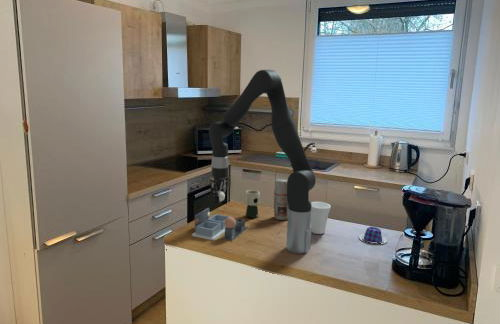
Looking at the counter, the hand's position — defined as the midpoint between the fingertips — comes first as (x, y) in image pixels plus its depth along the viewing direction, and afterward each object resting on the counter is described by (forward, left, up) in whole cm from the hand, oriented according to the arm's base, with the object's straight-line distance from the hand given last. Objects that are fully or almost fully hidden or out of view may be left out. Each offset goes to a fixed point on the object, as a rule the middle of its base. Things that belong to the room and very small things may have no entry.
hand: (219, 201), depth 181 cm
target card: (+6, +5, -12) cm, 15 cm away
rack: (0, +5, -12) cm, 13 cm away
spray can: (-22, -25, -12) cm, 36 cm away
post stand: (-10, +4, -12) cm, 16 cm away
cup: (-43, -15, -12) cm, 47 cm away
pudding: (-67, -18, -13) cm, 71 cm away
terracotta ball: (-10, +9, -5) cm, 15 cm away
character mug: (-8, -20, -12) cm, 25 cm away
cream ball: (0, 0, +3) cm, 3 cm away
